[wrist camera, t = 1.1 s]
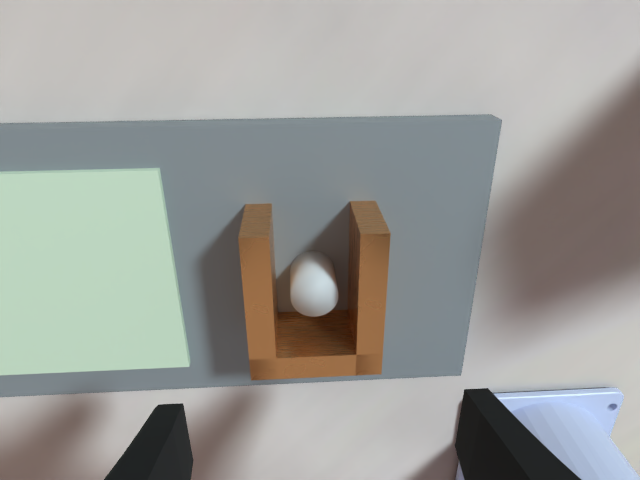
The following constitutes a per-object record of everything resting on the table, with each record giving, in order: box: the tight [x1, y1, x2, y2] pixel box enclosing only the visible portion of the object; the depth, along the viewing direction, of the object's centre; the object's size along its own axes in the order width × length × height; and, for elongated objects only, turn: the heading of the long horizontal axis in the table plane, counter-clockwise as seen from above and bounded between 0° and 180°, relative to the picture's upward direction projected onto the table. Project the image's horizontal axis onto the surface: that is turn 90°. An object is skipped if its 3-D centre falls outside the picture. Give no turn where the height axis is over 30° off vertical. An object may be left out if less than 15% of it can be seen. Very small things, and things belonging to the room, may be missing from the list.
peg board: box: [0, 115, 502, 397], centre depth 19 cm, size 12×24×3 cm, turn 90°
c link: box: [238, 201, 391, 380], centre depth 18 cm, size 6×5×3 cm
